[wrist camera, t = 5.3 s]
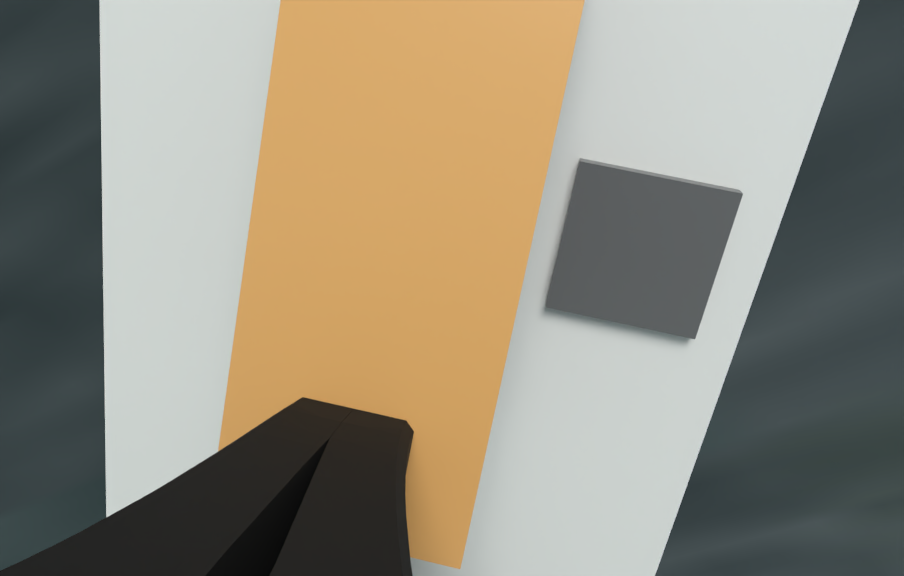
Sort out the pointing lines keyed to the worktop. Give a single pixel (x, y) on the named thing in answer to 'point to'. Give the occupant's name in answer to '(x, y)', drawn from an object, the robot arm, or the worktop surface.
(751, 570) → the worktop surface
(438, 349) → the orange flat bar
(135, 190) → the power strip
